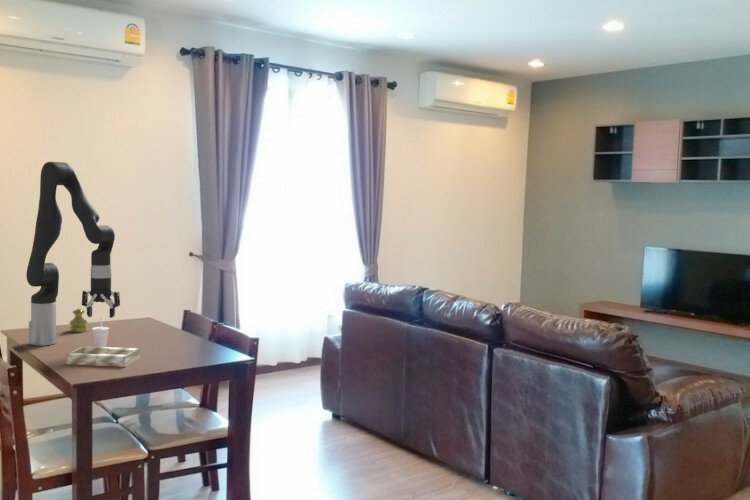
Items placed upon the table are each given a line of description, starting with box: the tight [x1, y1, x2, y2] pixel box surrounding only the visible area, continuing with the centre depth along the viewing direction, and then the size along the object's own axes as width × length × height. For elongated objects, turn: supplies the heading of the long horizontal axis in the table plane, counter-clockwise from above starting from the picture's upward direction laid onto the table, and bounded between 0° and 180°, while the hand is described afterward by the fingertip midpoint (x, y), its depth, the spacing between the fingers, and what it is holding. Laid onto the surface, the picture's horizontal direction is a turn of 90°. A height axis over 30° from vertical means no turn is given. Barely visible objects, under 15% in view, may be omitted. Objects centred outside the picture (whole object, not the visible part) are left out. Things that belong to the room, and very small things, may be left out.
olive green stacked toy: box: [69, 308, 88, 333], centre depth 304 cm, size 7×7×10 cm
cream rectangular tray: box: [65, 345, 141, 368], centre depth 254 cm, size 22×14×4 cm, turn 89°
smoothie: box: [91, 317, 110, 347], centre depth 266 cm, size 6×6×14 cm
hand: (100, 317), depth 266 cm, fingers open, 8 cm apart
